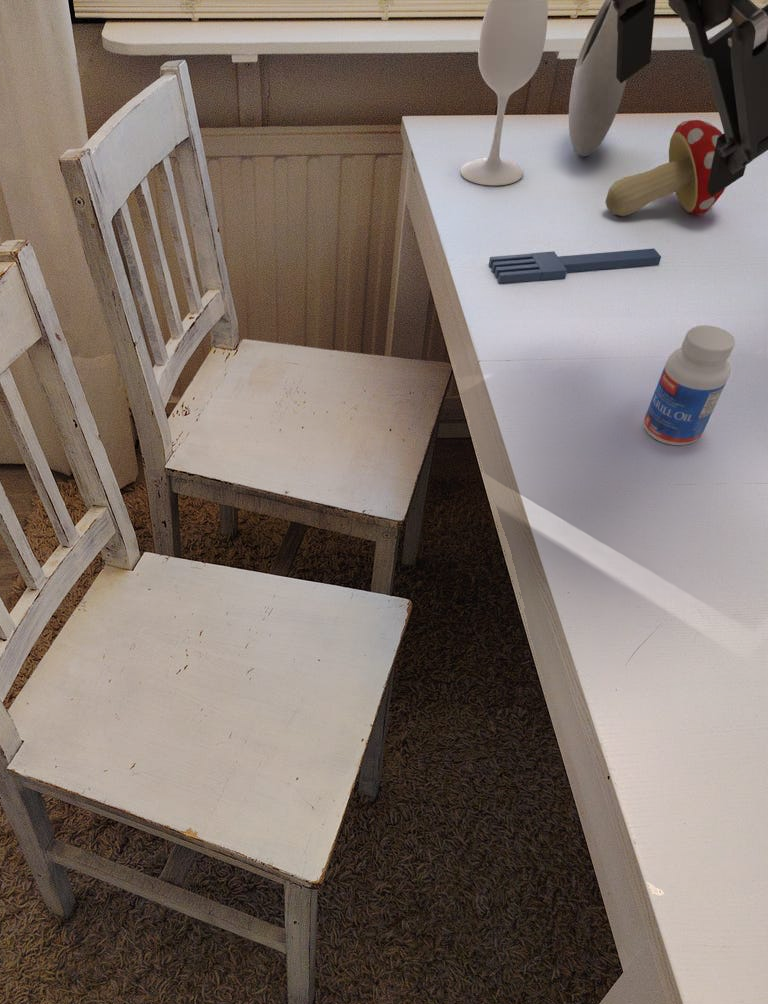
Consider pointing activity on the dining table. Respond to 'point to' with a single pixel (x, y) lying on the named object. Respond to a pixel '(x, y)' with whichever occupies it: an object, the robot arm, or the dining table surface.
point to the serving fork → (565, 264)
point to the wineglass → (507, 72)
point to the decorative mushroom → (673, 174)
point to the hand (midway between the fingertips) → (677, 125)
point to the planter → (595, 84)
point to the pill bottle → (690, 386)
